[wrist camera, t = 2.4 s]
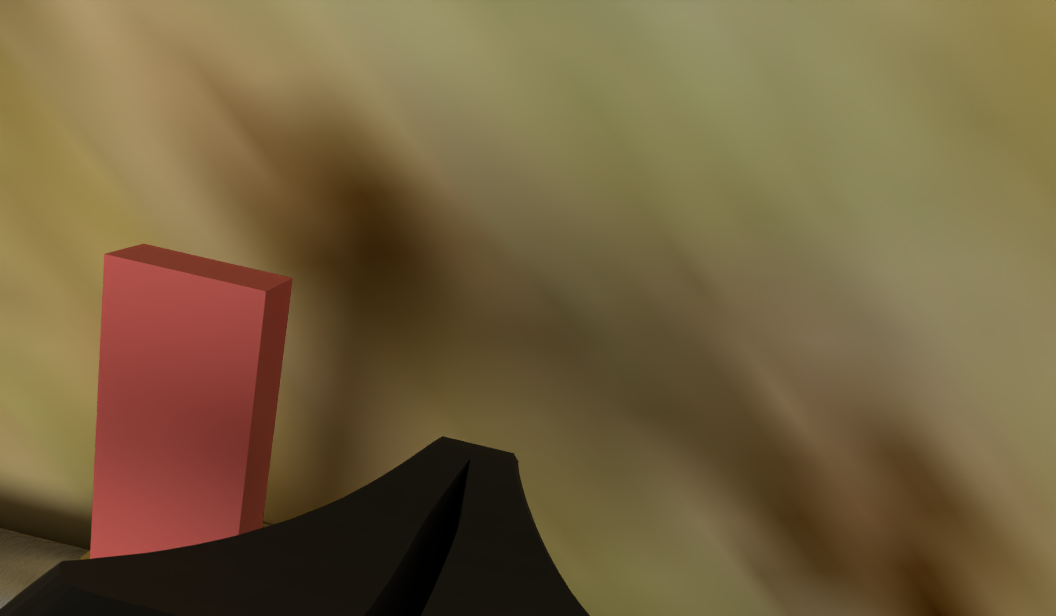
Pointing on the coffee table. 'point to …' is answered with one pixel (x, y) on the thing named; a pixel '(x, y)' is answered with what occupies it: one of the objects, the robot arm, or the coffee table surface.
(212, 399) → the lever
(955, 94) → the coffee table surface
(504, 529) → the robot arm
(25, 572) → the valve pipe
